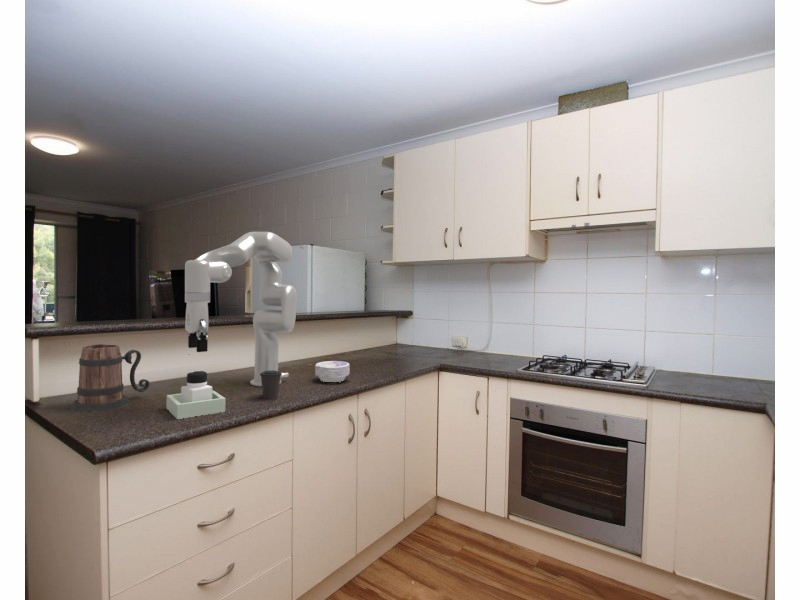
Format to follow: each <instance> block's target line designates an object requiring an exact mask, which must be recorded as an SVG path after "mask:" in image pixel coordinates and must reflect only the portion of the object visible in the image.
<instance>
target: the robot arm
mask: <svg viewBox="0 0 800 600" xmlns="http://www.w3.org/2000/svg"><path fill="white" fill-rule="evenodd" d="M292 247H293V246H292V245H291V244H290V243H289V242H288V241H286V239H284V238H282V237H280V236H279V235H278V234H276V233H274V232H272V231H271V232H270V231H250V232H246V233H245V234H243V235H242V236H240V237H239V238H237V239H236V240H234V241H233V242H231V243H229V244H228V245H224V246H221V247H219V248H215V249H212V250H210V251H207V252H205V253H203V254H201V255H200V256H198V257H197V258H195V259H190V260H186V262H185V263H184V303H186V308H185V325H184V329H185V332H188V333H187V334H188V335H187V338H188V339H187V340H188V341H187V342H188V348H189V349H191V348H193V349H194V348H196V353H205V352H208V347H209V346H208V345H209V344H208V331H209V305H208V304H209V303H211V283H219V284H220V283H221V284H222V283H225V282H227V281H228V280H230V279H231V277H232V275H233V270H232V268H234V267H238V266H241V265H244V264H245V263H246V262H248V261H249V260H250V259H252V258H254V260H255V261H256V263H257V264H258V266H259V269H260V272H261V278H260V286H259V289H260V290H259V303H260V304H261V305H263V306H265V307H276V308H277V307H278V308H279V307H280V308H281V309H267V308H265V309H260V310H257V311H256V312H255V313H254V314H253V318H252V324H253V331H254V343H255V344H254V377H253V379H251V380H250V382H249V383H250V385H251V386H254V387H255V386H256V387H262V383H261V376H260V373H262V372H264V371H278V372H279V340H278V336H277V335H276V333H280V334H282V333H283V334H288V333H291V332H292V331H293V330H294V328H295V323H296V319H297V318H296V316H297V305H298V292H297V290H296V288H295V287H294V286H293V285H291V284H282V281H283V273H282V269H281V268H280V265H279V264H278V263H288V262H290V261H291V260H292V258H293V256H294V254H293V253H294V251H293V248H292ZM281 373H282V375H281V378H280V384H281V383H282V379H283V378H289V375H290V374H289V372H281Z"/></svg>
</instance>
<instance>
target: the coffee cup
mask: <svg viewBox="0 0 800 600" xmlns="http://www.w3.org/2000/svg"><path fill="white" fill-rule="evenodd" d="M282 373H283V372H282V371H279V370H278V371H264V372H262V373H260V376H261V383H262V386H261V391H262V392H261V393H262V399H263V398H265V399H264V400H266V399H273V398H277V397H279V392H280V386H281V385H280V384H281V383H280V378H281V375H282ZM281 379H282V378H281ZM277 399H278V398H277ZM273 400H274V399H273Z"/></svg>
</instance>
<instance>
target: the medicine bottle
mask: <svg viewBox="0 0 800 600" xmlns="http://www.w3.org/2000/svg"><path fill="white" fill-rule="evenodd" d="M213 391H214V389H213V386H212V385H208V372H207V371H204V370H193V371H190V372H188V373H186V385H183V386H181V387H180V393H181V404H182V403H189V402H196V401H203V400H210V399H212V393H213Z"/></svg>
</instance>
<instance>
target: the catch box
mask: <svg viewBox="0 0 800 600" xmlns="http://www.w3.org/2000/svg"><path fill="white" fill-rule="evenodd" d="M226 399H227V398H226V397H224V396H222V395H221V394H219V392H217V391H215V390H213V393H212V399H210V400H203V401H196V402H189V403H182V404H181V392H180V393H175V394H174V393H173V394H167V395H166V410H167V411H168V410H169V411H168V412H169V413H170V414H171V415H172V416H173V417H174V418H175V419H176V420H177V419H178V420H183V418H184V419H189V417H190V418H196V417H195V416H197V417H201V415H203V416H208V414H209V415H214V414H220V412H221V413H225V412H226Z"/></svg>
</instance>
